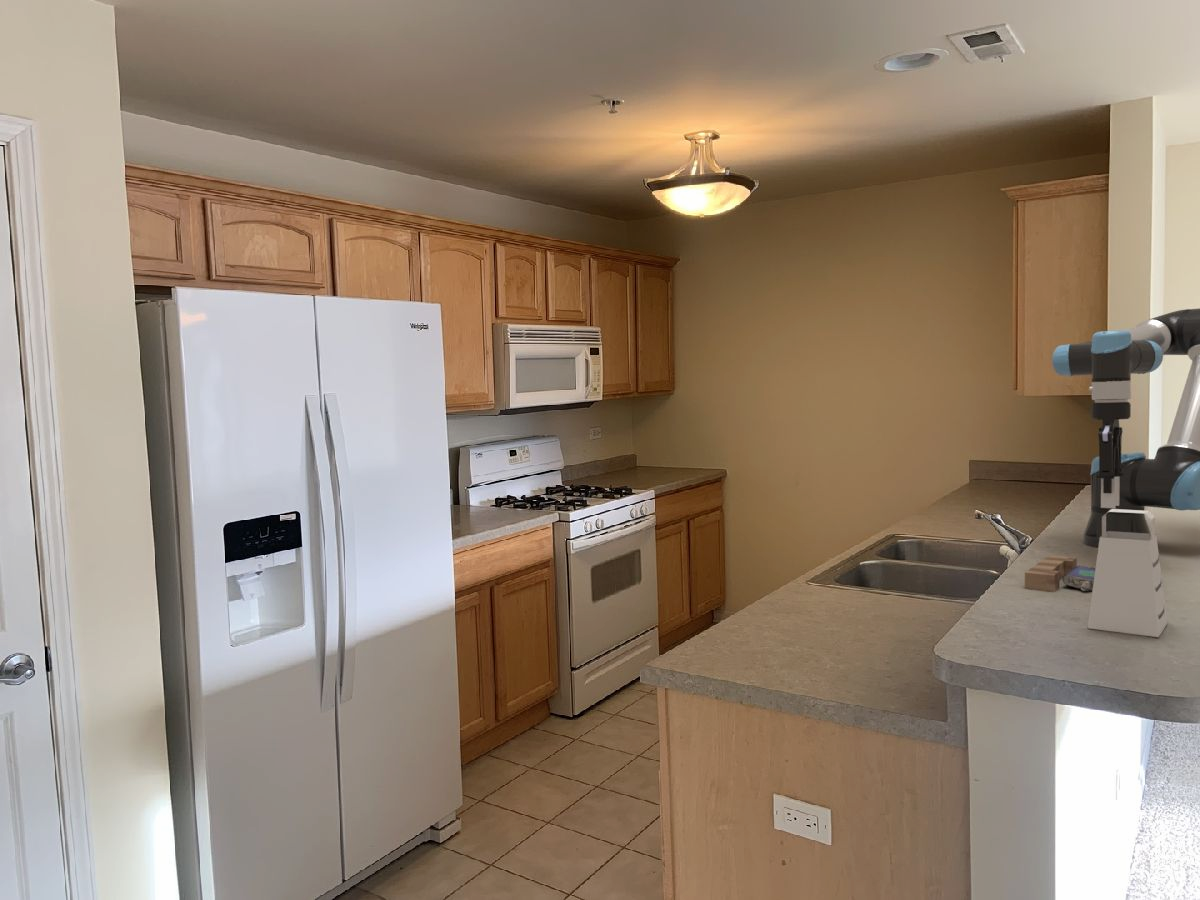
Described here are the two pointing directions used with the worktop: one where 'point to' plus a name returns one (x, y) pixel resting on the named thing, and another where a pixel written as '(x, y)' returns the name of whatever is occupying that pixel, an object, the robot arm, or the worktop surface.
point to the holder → (1049, 573)
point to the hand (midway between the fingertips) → (1110, 506)
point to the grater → (1128, 583)
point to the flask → (1080, 578)
